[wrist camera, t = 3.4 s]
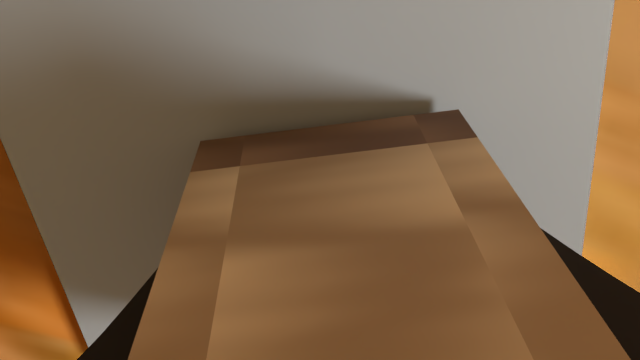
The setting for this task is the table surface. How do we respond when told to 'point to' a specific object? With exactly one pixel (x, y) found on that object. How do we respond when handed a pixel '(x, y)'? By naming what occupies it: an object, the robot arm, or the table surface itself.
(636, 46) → the table surface
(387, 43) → the board
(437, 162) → the sleeve
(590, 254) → the table surface
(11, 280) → the table surface
